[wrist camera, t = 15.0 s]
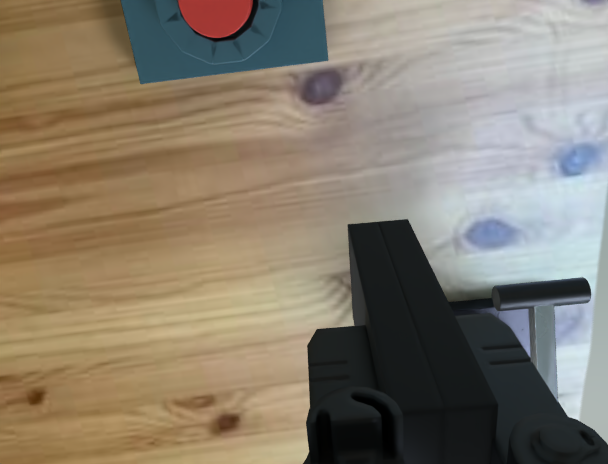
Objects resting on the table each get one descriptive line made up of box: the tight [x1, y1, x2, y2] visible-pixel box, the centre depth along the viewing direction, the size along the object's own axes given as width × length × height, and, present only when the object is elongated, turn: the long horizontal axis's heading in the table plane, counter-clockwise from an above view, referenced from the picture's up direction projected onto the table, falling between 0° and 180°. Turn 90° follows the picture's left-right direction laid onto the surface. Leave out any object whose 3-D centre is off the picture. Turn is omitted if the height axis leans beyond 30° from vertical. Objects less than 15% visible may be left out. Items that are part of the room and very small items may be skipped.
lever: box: [492, 278, 591, 402], centre depth 32 cm, size 14×5×2 cm, turn 6°
